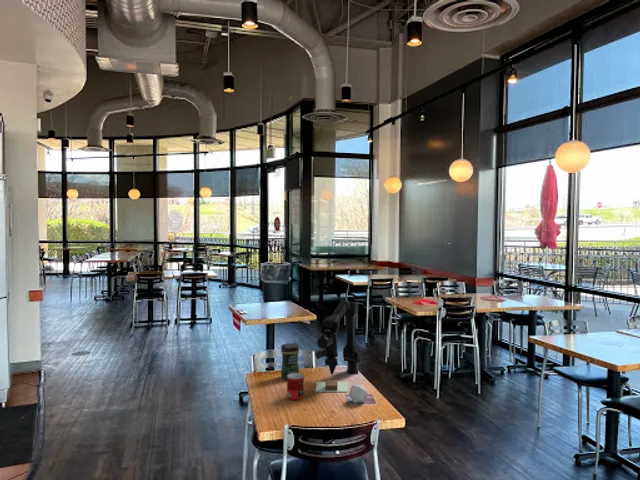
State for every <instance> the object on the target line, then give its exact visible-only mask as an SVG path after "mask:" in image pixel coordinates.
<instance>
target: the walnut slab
mask: <svg viewBox="0 0 640 480" xmlns="http://www.w3.org/2000/svg"><path fill="white" fill-rule="evenodd" d="M325 382H326V383H325V390H337V387H338V383H337V382H338V380H337V381H334V380H333V381H329V380H328V381H327V380H325Z"/></svg>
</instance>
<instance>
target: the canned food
mask: <svg viewBox="0 0 640 480" xmlns="http://www.w3.org/2000/svg"><path fill="white" fill-rule="evenodd" d="M304 376H305V375H304V374H303V373H300V372H299V373H291V374H288V375H287V379H286V380H287V381H286V383H287V384H286V385H287V386H286V387H287V390H286V391H287V392H286V393H287V396H286V397H287V399H288V400H290V401H294V402H295V401H296V402H297V401H301V400H303V399H304V396H305V394H304V393H305V387H304V386H305V381H304V380H305V379H304V378H305V377H304Z"/></svg>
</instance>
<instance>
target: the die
mask: <svg viewBox="0 0 640 480" xmlns="http://www.w3.org/2000/svg"><path fill="white" fill-rule="evenodd" d="M368 394H369V392H368V390H367V388H366V387H365V384H362V383H361V384H358V383H357V384H352V385H351V387H350V389H349V392H348V397H350V399H351V400H352V402H353V404H360V403H365V402H366V399H367V397H368Z"/></svg>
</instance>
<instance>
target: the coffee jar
mask: <svg viewBox="0 0 640 480" xmlns="http://www.w3.org/2000/svg"><path fill="white" fill-rule="evenodd" d="M280 353H281V355H282V357H281V358H282V360H281V361H282V362H281V371H280V373H281V374H280V376H281V378H282V379H284V380H287V375H288V374H291V373H300V369H299V367H300V366H299V353H300V348H299V344H298V343H296V342H293V343H292V342H291V343H284V344H282V345H281V350H280Z"/></svg>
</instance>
